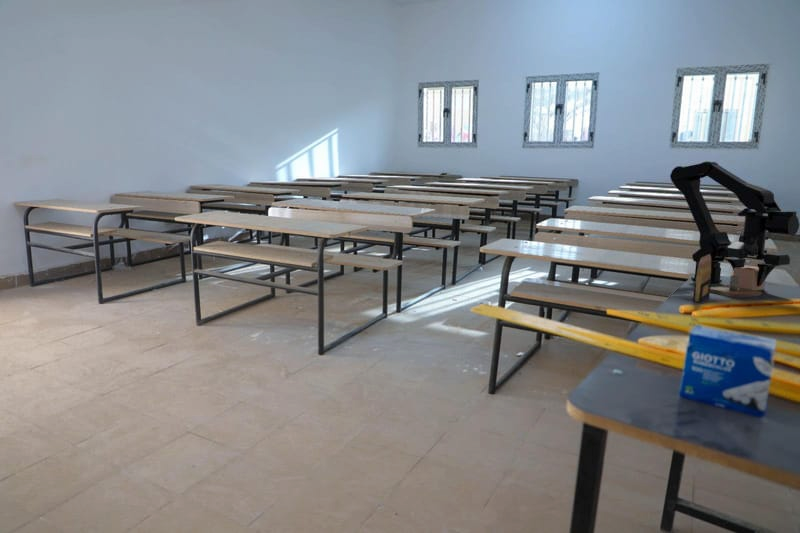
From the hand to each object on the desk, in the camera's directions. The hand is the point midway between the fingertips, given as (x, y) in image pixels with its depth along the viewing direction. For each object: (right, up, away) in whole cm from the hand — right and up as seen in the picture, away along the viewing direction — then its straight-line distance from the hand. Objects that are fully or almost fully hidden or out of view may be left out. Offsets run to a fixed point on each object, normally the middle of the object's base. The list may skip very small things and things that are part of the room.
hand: (748, 284), depth 164 cm
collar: (0, -1, 0) cm, 1 cm away
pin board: (-9, -2, -7) cm, 11 cm away
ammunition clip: (-22, -4, -15) cm, 27 cm away
